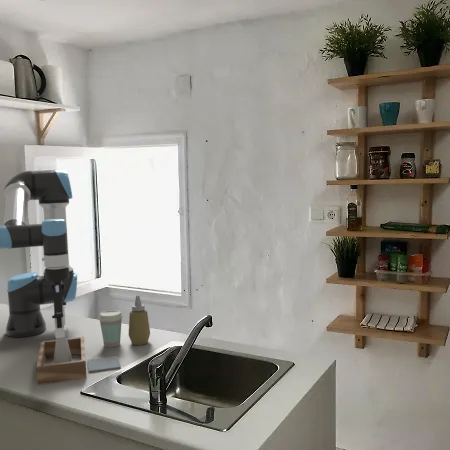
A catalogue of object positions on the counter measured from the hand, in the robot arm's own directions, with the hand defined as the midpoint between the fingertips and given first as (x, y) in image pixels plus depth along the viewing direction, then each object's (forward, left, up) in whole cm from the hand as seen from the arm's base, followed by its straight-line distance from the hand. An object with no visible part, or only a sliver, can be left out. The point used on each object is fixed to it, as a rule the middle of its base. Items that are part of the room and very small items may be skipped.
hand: (60, 331), depth 164 cm
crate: (0, 0, -12) cm, 12 cm away
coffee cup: (-16, +17, -13) cm, 27 cm away
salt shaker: (0, 0, -13) cm, 13 cm away
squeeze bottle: (-14, +27, -13) cm, 33 cm away
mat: (+3, +13, -12) cm, 18 cm away
